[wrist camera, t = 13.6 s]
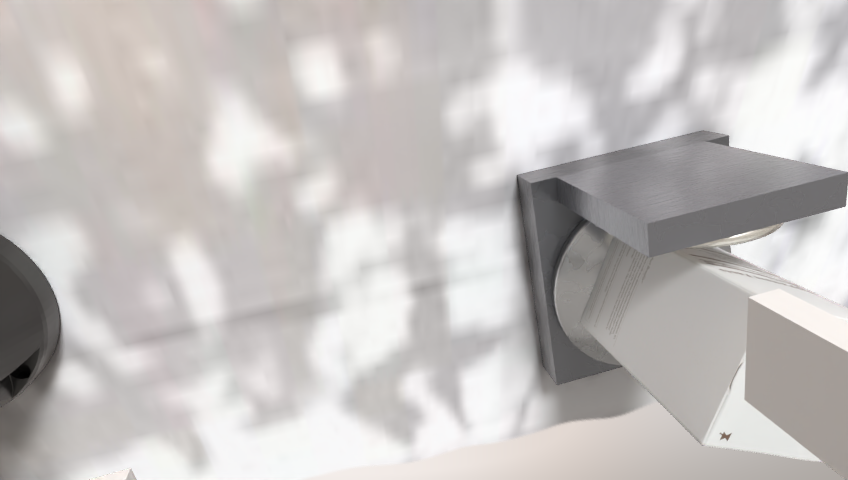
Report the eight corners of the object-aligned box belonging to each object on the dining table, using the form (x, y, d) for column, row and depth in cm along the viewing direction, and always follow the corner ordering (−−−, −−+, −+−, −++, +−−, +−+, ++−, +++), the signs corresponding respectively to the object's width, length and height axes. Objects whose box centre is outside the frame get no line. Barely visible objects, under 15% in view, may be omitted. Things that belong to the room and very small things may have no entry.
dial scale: (543, 366, 48) (632, 491, 34) (517, 175, 42) (612, 232, 28) (705, 321, 50) (853, 423, 36) (703, 130, 44) (880, 164, 30)
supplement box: (669, 342, 45) (825, 470, 31) (576, 323, 43) (698, 451, 29) (715, 242, 43) (905, 332, 29) (619, 217, 40) (774, 300, 26)
